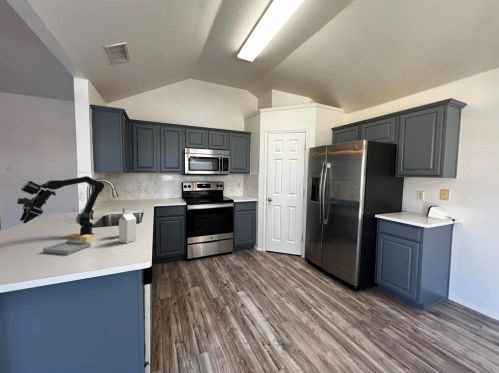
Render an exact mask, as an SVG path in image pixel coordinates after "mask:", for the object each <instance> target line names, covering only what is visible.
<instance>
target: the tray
mask: <svg viewBox="0 0 499 373" xmlns="http://www.w3.org/2000/svg"><path fill="white" fill-rule="evenodd" d="M91 243H92V242H80V241H68V240H65V241H61V242H59V243H56V244H53V245H49V246H46V247H43V248H42V253H43V254H50V255H51V254H53V255H55V254H56V255H63V256H70V255H72V254H75V253H78V252H80V251H83V250H86V249H88V248H92V247H91V246H92V244H91Z"/></svg>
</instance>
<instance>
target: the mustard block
mask: <svg viewBox="0 0 499 373" xmlns="http://www.w3.org/2000/svg"><path fill="white" fill-rule="evenodd" d="M93 239H94V238H93V235H83V236H80V241H79V242H90V243H92V242H93Z"/></svg>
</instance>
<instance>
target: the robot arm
mask: <svg viewBox="0 0 499 373" xmlns="http://www.w3.org/2000/svg"><path fill="white" fill-rule="evenodd" d="M83 183H86V184H88V185H89V186H91V188H90V193H89V194H90V195H89V197H88V198H87V199H88V200H87V201H86V204H85V206H84V207H83V210H82V212H81V213H79V212H78V213H77V217H76V218H75V220H76V223H77V224H78V225H79V226H80V230H79V234H80V236H83V235H92V236H93V235H95V233H93V226H94V223H93V222H91V221H90V219H91V213H92V211H93V208H94V205H95V203H96V201H97V199H98V196H99V194H100V193H101V192H102V191H103V189H105V183H103V181H98V180H95V179H94V178H92V177H90V176H89V175H84V176H81V177H74V178H68V179H62V180H61V179H59V180H58V179H54V180H53V179H51V180H47V181H46V182H45V183H42V184H38V183H35V182H34V181H31V180H28V181H27V182H26V183H25V184H24V185H23V186H22V187H21V189H20V191H22V192H24V193H27V194H29V195H31V196H32V195H33V196H34V194H35V196H34V197H32V198H28V197H18V198H17V201H16V204H18V205H22V206H21V207H22V210H23V211H22V212H23V213H22V214H21V217H20V218H19V220H20V221H21V222H22V223H23V224H27V223H28V222H30V221H32V220H34V219H35V218H37V217H40V215H42V214H43V213H44V211H43V209H42V207H43V206H44V205H46V204H47V200H49V199H50V197H51V196H57V194H56V190H57V189H58V190H59V189H61V188H63V187H66V186H71V185H72V186H73V185H77V184H83Z"/></svg>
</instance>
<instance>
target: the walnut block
mask: <svg viewBox="0 0 499 373" xmlns="http://www.w3.org/2000/svg"><path fill="white" fill-rule="evenodd" d="M67 241H78V242H80V233H71V234H68V235H67Z"/></svg>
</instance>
